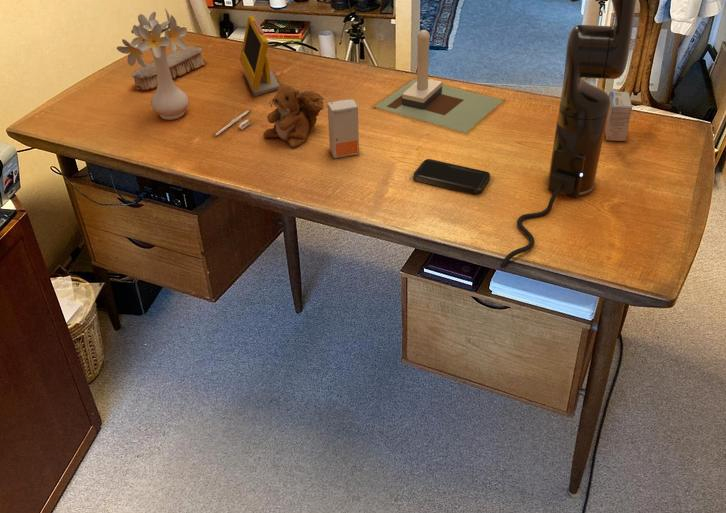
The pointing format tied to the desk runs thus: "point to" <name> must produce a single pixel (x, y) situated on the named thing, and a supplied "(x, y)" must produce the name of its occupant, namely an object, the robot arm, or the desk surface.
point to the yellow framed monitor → (257, 60)
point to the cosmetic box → (343, 128)
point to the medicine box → (618, 116)
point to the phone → (452, 176)
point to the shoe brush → (177, 66)
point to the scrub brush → (422, 78)
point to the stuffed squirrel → (293, 114)
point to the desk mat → (445, 107)
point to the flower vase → (159, 61)
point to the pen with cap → (241, 126)
